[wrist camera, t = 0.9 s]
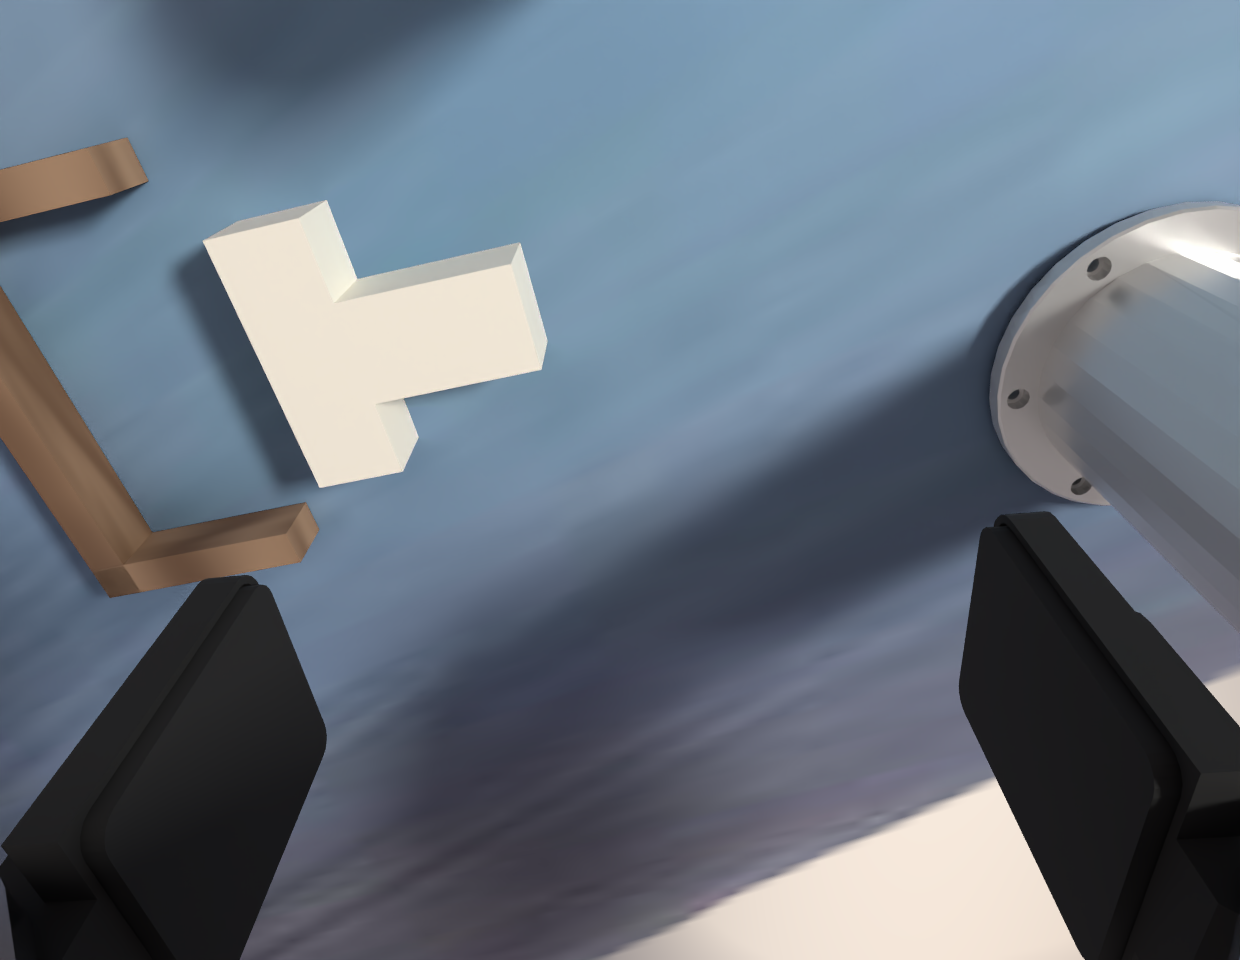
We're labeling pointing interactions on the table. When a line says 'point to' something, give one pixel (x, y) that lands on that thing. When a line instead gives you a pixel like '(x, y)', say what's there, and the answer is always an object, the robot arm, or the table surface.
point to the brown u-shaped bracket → (68, 453)
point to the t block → (369, 333)
